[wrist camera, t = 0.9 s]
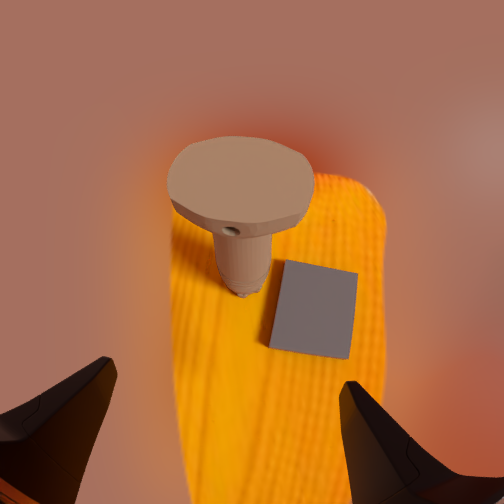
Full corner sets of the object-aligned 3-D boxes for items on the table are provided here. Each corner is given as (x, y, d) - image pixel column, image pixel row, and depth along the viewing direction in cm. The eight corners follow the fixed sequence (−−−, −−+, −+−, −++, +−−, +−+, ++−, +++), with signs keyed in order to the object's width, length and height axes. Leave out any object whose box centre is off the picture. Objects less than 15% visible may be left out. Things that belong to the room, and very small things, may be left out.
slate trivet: (344, 359, 22) (348, 358, 21) (268, 347, 23) (269, 346, 21) (353, 277, 25) (357, 273, 24) (284, 264, 26) (285, 259, 25)
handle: (215, 253, 26) (185, 133, 12) (281, 262, 26) (314, 145, 12) (205, 302, 24) (153, 213, 10) (276, 311, 24) (313, 232, 10)
